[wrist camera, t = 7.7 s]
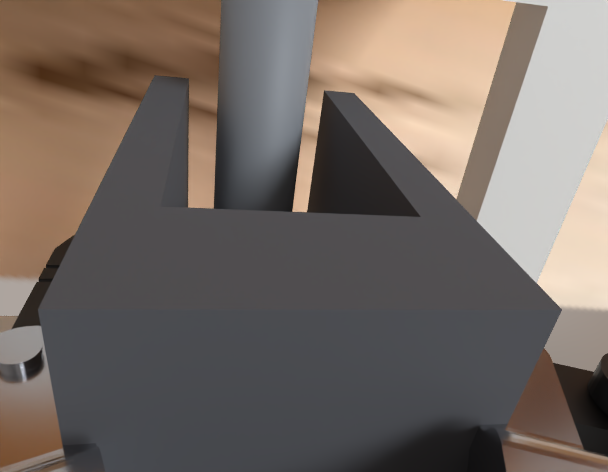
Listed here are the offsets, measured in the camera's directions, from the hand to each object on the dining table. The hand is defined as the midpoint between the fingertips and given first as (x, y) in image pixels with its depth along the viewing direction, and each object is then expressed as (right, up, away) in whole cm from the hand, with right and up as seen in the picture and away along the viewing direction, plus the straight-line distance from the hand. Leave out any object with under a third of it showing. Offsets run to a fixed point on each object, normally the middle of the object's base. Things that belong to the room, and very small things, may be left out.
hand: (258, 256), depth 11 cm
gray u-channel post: (-1, +2, +3) cm, 3 cm away
